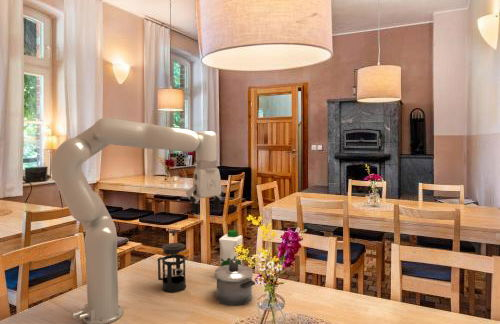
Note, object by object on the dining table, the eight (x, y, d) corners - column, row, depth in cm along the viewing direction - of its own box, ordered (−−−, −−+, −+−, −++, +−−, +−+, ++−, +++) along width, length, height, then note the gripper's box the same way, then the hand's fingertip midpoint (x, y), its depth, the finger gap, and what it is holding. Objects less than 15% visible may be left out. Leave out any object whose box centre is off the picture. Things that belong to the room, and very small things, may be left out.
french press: (191, 283, 146) (190, 228, 144) (182, 293, 136) (181, 234, 135) (164, 281, 148) (163, 227, 146) (153, 291, 138) (152, 233, 137)
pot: (236, 311, 122) (236, 286, 121) (205, 296, 134) (205, 273, 133) (263, 299, 132) (263, 275, 131) (232, 285, 144) (232, 263, 143)
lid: (232, 285, 122) (232, 270, 122) (206, 274, 132) (206, 260, 132) (260, 274, 132) (260, 260, 132) (234, 264, 142) (234, 251, 142)
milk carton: (244, 276, 153) (244, 230, 152) (237, 284, 145) (236, 236, 143) (225, 274, 156) (225, 228, 155) (217, 281, 148) (216, 234, 146)
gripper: (192, 167, 121) (193, 217, 122) (231, 164, 133) (231, 210, 134) (180, 166, 126) (181, 214, 127) (218, 163, 138) (218, 207, 139)
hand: (206, 211), depth 131 cm, fingers open, 9 cm apart
